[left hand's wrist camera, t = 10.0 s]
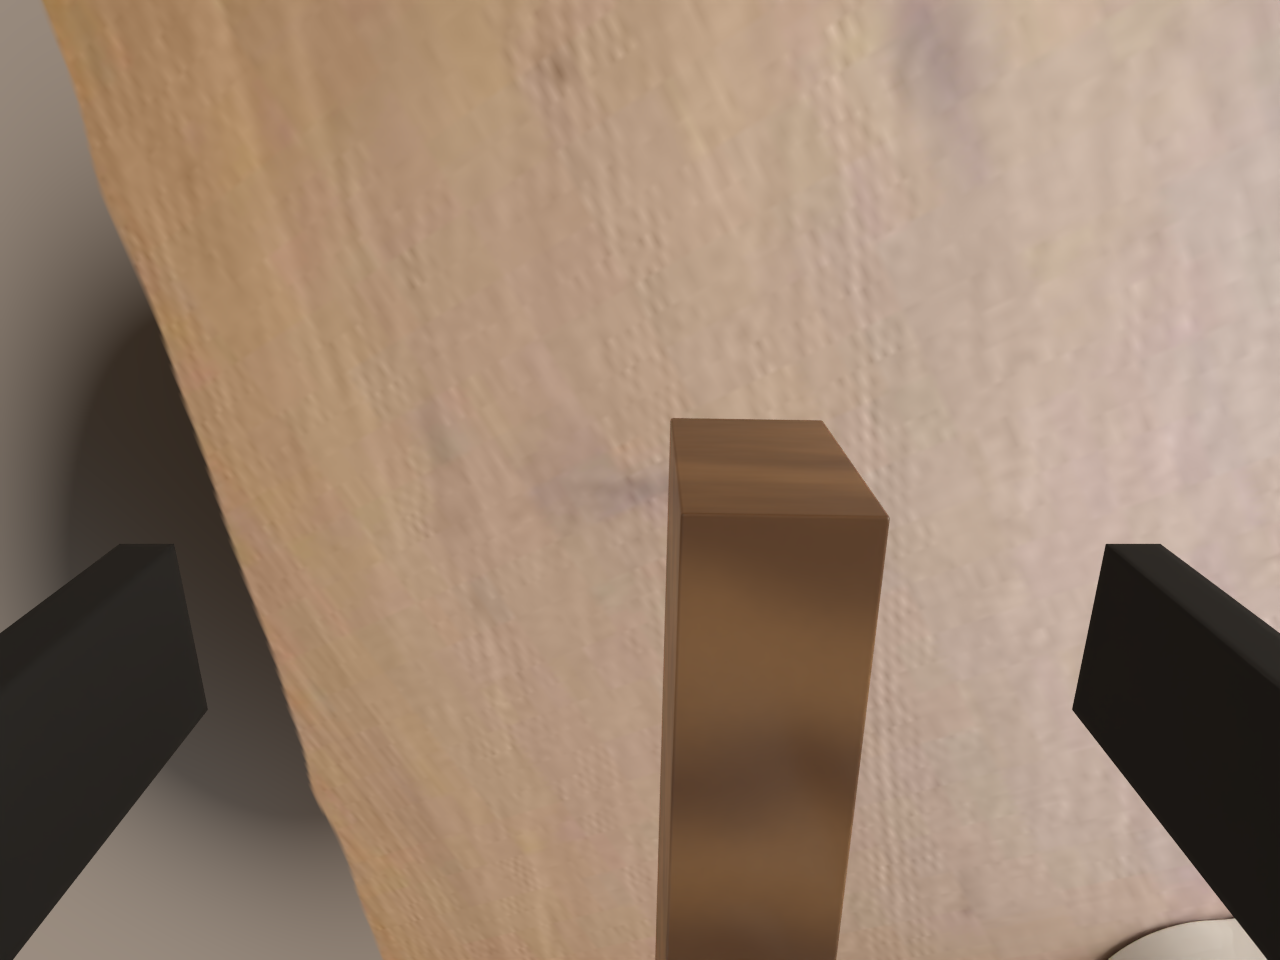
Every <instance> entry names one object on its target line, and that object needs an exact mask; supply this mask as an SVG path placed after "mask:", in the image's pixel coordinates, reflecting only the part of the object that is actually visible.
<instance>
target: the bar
mask: <svg viewBox="0 0 1280 960" xmlns="http://www.w3.org/2000/svg"><path fill="white" fill-rule="evenodd" d="M889 520H890V518H889V516H888V515H887V513H886V512H885V510H884V509H883V507H882V506H881V504H880V503H879V502H878V500H877V499H876V497H875V496H874V494H873V493H872V492H871V490H870V489H869V487H868V486H867V484H866V483H865V481H864V480H863V479H862V477H861V476H860V474H859V473H858V471H857V470H856V469H855V467H854V466H853V464H852V463H851V461H850V460H849V458H848V457H847V456H846V454H845V453H844V451H843V450H842V448H841V447H840V445H839V444H838V443H837V441H836V440H835V438H834V437H833V435H832V434H831V433H830V431H829V430H828V428H827V427H826V425H825V424H824V422H823V421H818V420H754V419H690V418H672V419H671V421H670V456H669V491H668V527H667V563H666V598H665V634H664V669H663V705H662V741H661V776H660V812H659V848H658V883H657V919H656V954H655V960H836V956H837V948H838V940H839V932H840V923H841V915H842V907H843V899H844V890H845V882H846V874H847V866H848V858H849V849H850V841H851V833H852V825H853V816H854V808H855V800H856V792H857V783H858V775H859V767H860V759H861V750H862V742H863V734H864V726H865V718H866V709H867V701H868V693H869V685H870V676H871V668H872V660H873V652H874V643H875V635H876V627H877V619H878V611H879V602H880V594H881V586H882V578H883V569H884V561H885V553H886V545H887V536H888V528H889Z"/></svg>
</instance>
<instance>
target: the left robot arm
mask: <svg viewBox="0 0 1280 960" xmlns="http://www.w3.org/2000/svg"><path fill="white" fill-rule="evenodd" d="M207 710H208V708H207V703H206V698H205V694H204V689H203V684H202V679H201V674H200V669H199V664H198V659H197V654H196V649H195V644H194V639H193V635H192V630H191V625H190V620H189V615H188V610H187V605H186V600H185V595H184V590H183V585H182V580H181V576H180V571H179V566H178V561H177V556H176V551H175V546H174V544H119V545H118V546H116V547H115V548H114V549H112V550H111V551H110V552H108V553H107V554H106V555H104V556H103V557H102V558H100V559H99V560H98V561H96V562H95V563H94V564H92V565H91V566H90V567H88V568H87V569H86V570H84V571H83V572H82V573H80V574H79V575H78V576H76V577H75V578H74V579H72V580H71V581H70V582H68V583H67V584H66V585H64V586H63V587H62V588H60V589H59V590H58V591H56V592H55V593H54V594H52V595H51V596H50V597H48V598H47V599H45V600H44V601H43V602H41V603H40V604H39V605H37V606H36V607H35V608H33V609H32V610H31V611H29V612H28V613H27V614H25V615H24V616H23V617H21V618H20V619H19V620H17V621H16V622H15V623H13V624H12V625H11V626H9V627H8V628H7V629H5V630H4V631H3V632H1V633H0V960H13V959H14V958H15V956H16V955H17V954H18V952H19V951H20V950H21V949H22V947H23V946H24V945H25V943H26V942H27V941H28V940H29V938H30V937H31V936H32V934H33V933H34V932H35V931H36V929H37V928H38V927H39V925H40V924H41V923H42V922H43V920H44V919H45V918H46V917H47V915H48V914H49V913H50V911H51V910H52V909H53V908H54V906H55V905H56V904H57V902H58V901H59V900H60V899H61V897H62V896H63V895H64V893H65V892H66V891H67V889H68V888H69V887H70V886H71V884H72V883H73V882H74V881H75V879H76V878H77V877H78V875H79V874H80V873H81V872H82V870H83V869H84V868H85V866H86V865H87V864H88V863H89V861H90V860H91V859H92V857H93V856H94V855H95V854H96V852H97V851H98V850H99V848H100V847H101V846H102V845H103V843H104V842H105V841H106V840H107V838H108V837H109V836H110V834H111V833H112V832H113V830H114V829H115V828H116V827H117V825H118V824H119V823H120V822H121V820H122V819H123V818H124V816H125V815H126V814H127V813H128V811H129V810H130V809H131V807H132V806H133V805H134V804H135V802H136V801H137V800H138V798H139V797H140V796H141V795H142V793H143V792H144V791H145V789H146V788H147V787H148V786H149V784H150V783H151V782H152V780H153V779H154V778H155V777H156V775H157V774H158V773H159V772H160V770H161V769H162V768H163V766H164V765H165V764H166V762H167V761H168V760H169V759H170V757H171V756H172V755H173V753H174V752H175V751H176V750H177V748H178V747H179V746H180V745H181V743H182V742H183V741H184V739H185V738H186V737H187V735H188V734H189V733H190V732H191V730H192V729H193V728H194V727H195V725H196V724H197V723H198V721H199V720H200V719H201V718H202V716H203V715H204V714H205V712H206V711H207ZM1072 710H1073V711H1074V712H1075V714H1076V715H1077V716H1078V718H1079V719H1080V720H1081V721H1082V723H1083V724H1084V725H1085V727H1086V728H1087V729H1088V730H1089V732H1090V733H1091V734H1092V736H1093V737H1094V738H1095V739H1096V741H1097V742H1098V743H1099V745H1100V746H1101V747H1102V748H1103V750H1104V751H1105V752H1106V754H1107V755H1108V756H1109V757H1110V759H1111V760H1112V761H1113V763H1114V764H1115V765H1116V766H1117V768H1118V769H1119V770H1120V772H1121V773H1122V774H1123V775H1124V777H1125V778H1126V779H1127V780H1128V782H1129V783H1130V784H1131V786H1132V787H1133V788H1134V789H1135V791H1136V792H1137V793H1138V795H1139V796H1140V797H1141V798H1142V800H1143V801H1144V802H1145V804H1146V805H1147V806H1148V807H1149V809H1150V810H1151V811H1152V813H1153V814H1154V815H1155V816H1156V818H1157V819H1158V820H1159V822H1160V823H1161V824H1162V825H1163V827H1164V828H1165V829H1166V831H1167V832H1168V833H1169V834H1170V836H1171V837H1172V838H1173V840H1174V841H1175V842H1176V843H1177V845H1178V846H1179V847H1180V849H1181V850H1182V851H1183V852H1184V854H1185V855H1186V856H1187V857H1188V859H1189V860H1190V861H1191V863H1192V864H1193V865H1194V866H1195V868H1196V869H1197V870H1198V872H1199V873H1200V874H1201V875H1202V877H1203V878H1204V879H1205V881H1206V882H1207V883H1208V884H1209V886H1210V887H1211V888H1212V890H1213V891H1214V892H1215V893H1216V895H1217V896H1218V897H1219V899H1220V900H1221V901H1222V902H1223V904H1224V905H1225V906H1226V908H1227V909H1228V910H1229V911H1230V913H1231V914H1232V915H1233V917H1234V918H1235V919H1236V920H1237V922H1238V923H1239V924H1240V925H1241V927H1242V928H1243V929H1244V931H1245V932H1246V933H1247V934H1248V936H1249V937H1250V938H1251V940H1252V941H1253V942H1254V943H1255V945H1256V946H1257V947H1258V949H1259V950H1260V951H1261V952H1262V954H1263V955H1264V956H1265V958H1266V959H1267V960H1280V633H1279V632H1277V631H1276V630H1275V629H1273V628H1272V627H1271V626H1269V625H1268V624H1267V623H1265V622H1264V621H1263V620H1261V619H1260V618H1259V617H1257V616H1256V615H1255V614H1253V613H1252V612H1251V611H1249V610H1248V609H1247V608H1245V607H1244V606H1243V605H1241V604H1240V603H1239V602H1237V601H1236V600H1235V599H1233V598H1232V597H1231V596H1229V595H1228V594H1227V593H1225V592H1224V591H1223V590H1221V589H1220V588H1218V587H1217V586H1216V585H1214V584H1213V583H1212V582H1210V581H1209V580H1208V579H1206V578H1205V577H1204V576H1202V575H1201V574H1200V573H1198V572H1197V571H1196V570H1194V569H1193V568H1192V567H1190V566H1189V565H1188V564H1186V563H1185V562H1184V561H1182V560H1181V559H1180V558H1178V557H1177V556H1176V555H1174V554H1173V553H1172V552H1170V551H1169V550H1168V549H1166V548H1165V547H1164V546H1162V545H1161V544H1106V546H1105V551H1104V556H1103V561H1102V566H1101V571H1100V576H1099V580H1098V585H1097V590H1096V595H1095V600H1094V605H1093V610H1092V615H1091V620H1090V625H1089V630H1088V634H1087V639H1086V644H1085V649H1084V654H1083V659H1082V664H1081V669H1080V674H1079V679H1078V684H1077V689H1076V693H1075V698H1074V703H1073V708H1072Z"/></svg>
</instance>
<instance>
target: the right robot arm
mask: <svg viewBox="0 0 1280 960" xmlns="http://www.w3.org/2000/svg"><path fill="white" fill-rule="evenodd" d="M1108 960H1267V959H1266V958H1265V956H1264V955H1263V954H1262V952H1261V951H1260V950H1259V949H1258V947H1257V946H1256V945H1255V943H1254V942H1253V941H1252V940H1251V938H1250V937H1249V936H1248V934H1247V933H1246V932H1245V931H1244V929H1243V928H1242V927H1241V925H1240V924H1239V923H1238V922H1237V920H1236V919H1235V918H1234V919H1223V920H1205V921H1196V922H1189V923H1184V924H1179V925H1175V926H1172V927H1168V928H1165V929H1162V930H1159V931H1156V932H1154V933H1151V934H1149V935H1147V936H1144V937H1142V938H1140V939H1138V940H1136V941H1134V942H1133V943H1131V944H1129V945H1127V946H1126V947H1124V948H1123V949H1121V950H1120V951H1118V952H1117V953H1116V954H1114V955H1113V956H1112V957H1110V958H1109V959H1108Z"/></svg>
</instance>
